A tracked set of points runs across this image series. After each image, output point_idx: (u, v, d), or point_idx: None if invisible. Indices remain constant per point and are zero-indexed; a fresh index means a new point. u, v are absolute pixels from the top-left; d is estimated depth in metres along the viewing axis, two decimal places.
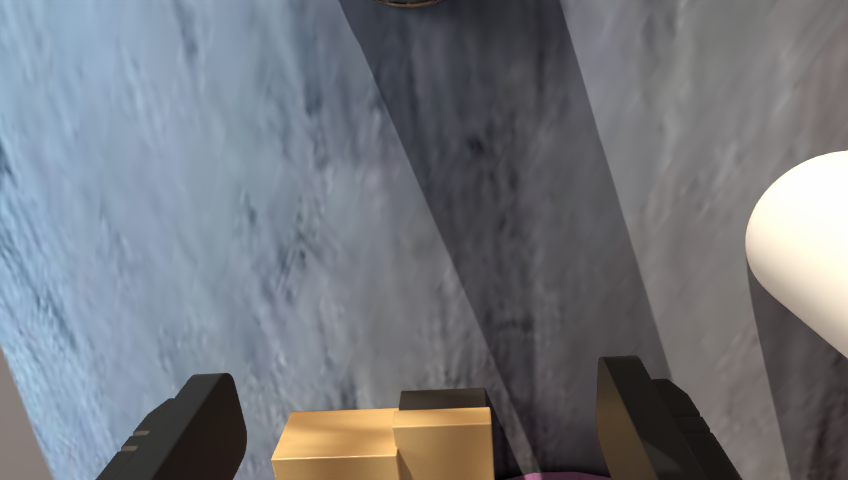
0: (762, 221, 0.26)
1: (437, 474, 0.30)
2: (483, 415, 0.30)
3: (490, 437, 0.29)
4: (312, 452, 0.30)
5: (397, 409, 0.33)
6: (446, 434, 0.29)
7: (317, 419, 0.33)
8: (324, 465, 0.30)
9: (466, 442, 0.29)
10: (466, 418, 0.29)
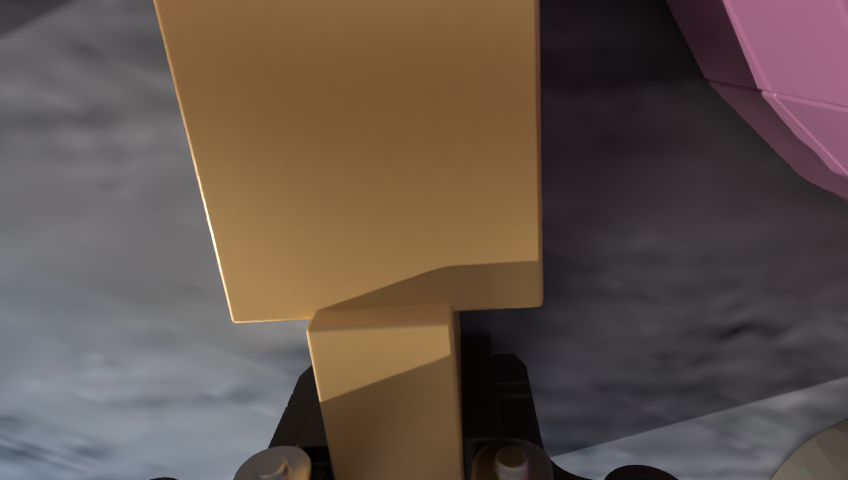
0: None
1: (429, 175, 0.08)
2: None
3: None
4: None
5: None
6: (228, 141, 0.08)
7: None
8: None
9: (254, 60, 0.07)
10: None
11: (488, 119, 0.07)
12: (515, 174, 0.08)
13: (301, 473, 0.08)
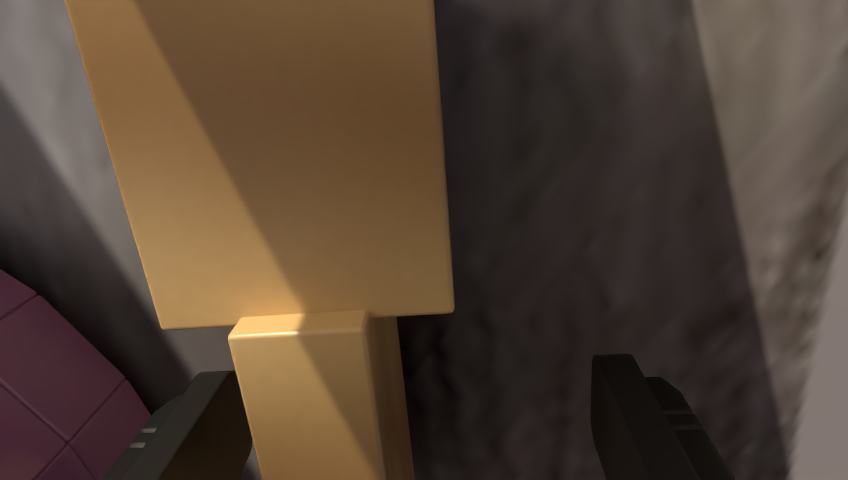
0: None
1: (341, 191, 0.08)
2: None
3: None
4: None
5: None
6: (150, 159, 0.08)
7: None
8: None
9: (170, 83, 0.08)
10: None
11: (393, 139, 0.08)
12: (421, 190, 0.08)
13: None
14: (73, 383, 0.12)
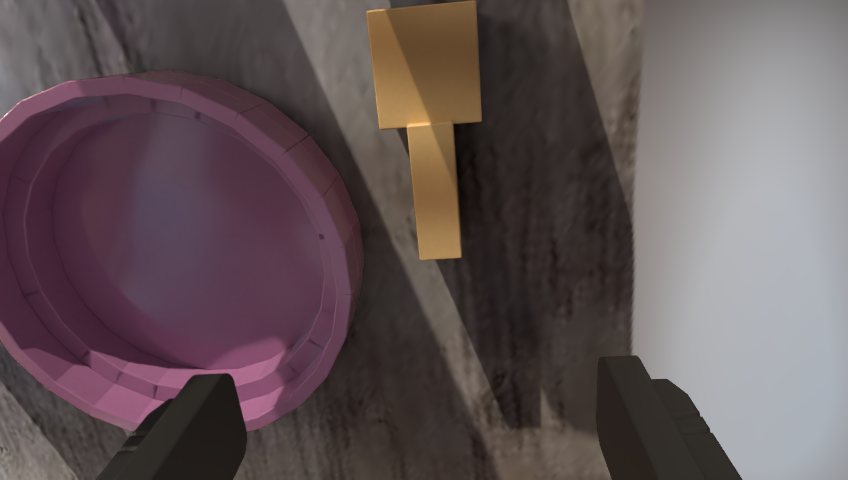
0: None
1: (445, 76, 0.25)
2: None
3: (386, 11, 0.25)
4: None
5: None
6: (385, 66, 0.25)
7: None
8: (425, 207, 0.27)
9: (395, 41, 0.25)
10: None
11: (463, 59, 0.25)
12: (471, 76, 0.25)
13: None
14: (327, 167, 0.29)
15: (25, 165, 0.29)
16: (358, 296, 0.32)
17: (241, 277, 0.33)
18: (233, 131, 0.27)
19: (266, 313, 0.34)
